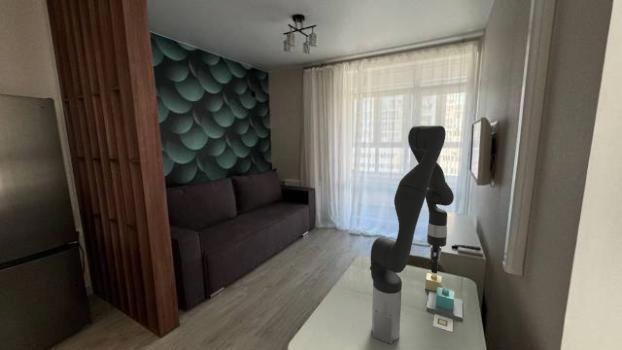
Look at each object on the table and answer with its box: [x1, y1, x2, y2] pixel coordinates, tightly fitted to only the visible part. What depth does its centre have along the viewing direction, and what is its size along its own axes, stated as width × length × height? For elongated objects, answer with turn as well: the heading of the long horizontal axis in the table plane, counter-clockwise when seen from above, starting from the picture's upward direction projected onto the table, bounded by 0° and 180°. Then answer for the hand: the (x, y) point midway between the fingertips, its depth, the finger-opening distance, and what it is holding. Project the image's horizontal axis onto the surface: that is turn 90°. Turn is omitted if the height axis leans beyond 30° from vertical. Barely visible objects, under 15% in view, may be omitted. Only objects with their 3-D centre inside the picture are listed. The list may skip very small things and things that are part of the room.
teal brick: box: [436, 287, 455, 310], centre depth 99 cm, size 6×6×6 cm
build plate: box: [426, 290, 464, 322], centre depth 100 cm, size 12×12×2 cm
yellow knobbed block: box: [425, 272, 443, 293], centre depth 112 cm, size 6×6×6 cm
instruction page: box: [432, 313, 454, 333], centre depth 91 cm, size 7×6×1 cm
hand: (435, 268), depth 112 cm, fingers open, 8 cm apart
